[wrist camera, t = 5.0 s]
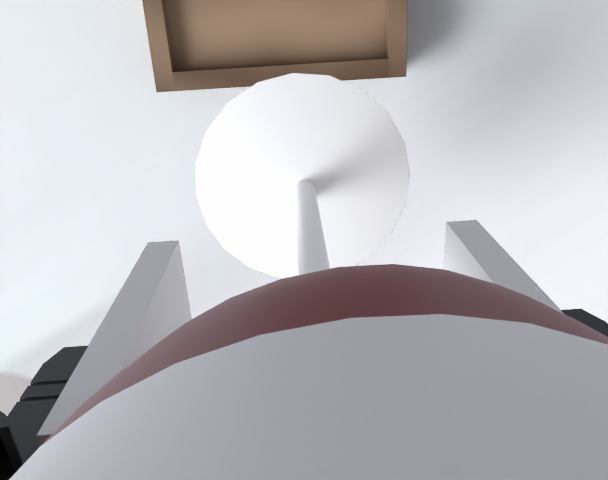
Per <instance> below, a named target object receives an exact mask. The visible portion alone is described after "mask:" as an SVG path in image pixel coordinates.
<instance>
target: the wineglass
mask: <svg viewBox="0 0 608 480" xmlns="http://www.w3.org/2000/svg"><path fill="white" fill-rule="evenodd" d="M409 178H410V171H409V165H408V159H407V154H406V148H405V142H404V140H403V138H402V137H401V135H400V133H399V131H398V129H397V128H396V126H395V124H394V122H393V120H392V119H391V117H390V115H389V113H388V112H387V111H386V110H385V109H384V108H383V107H381V106H380V105H379V104H378V103H377V102H376V101H375V100H374V99H372V98H371V97H370V96H369V95H368V94H367V93H366V92H365V91H363V90H362V89H360V88H358V87H356V86H353V85H351V84H348V83H346V82H344V81H341V80H339V79H336V78H334V77H332V76H329V75H316V74H301V73H291V74H287V75H283V76H279V77H276V78H272V79H268V80H264V81H261V82H257V83H256V84H254V85H253V86H251V87H250V88H248V89H247V90H245V91H244V92H242V93H241V94H239V95H238V96H236V97H235V98H233V99H232V100H230V101H229V102H227V104H226V105H225V106H224V108H223V109H222V110H221V112H220V113H219V114H218V116H217V117H216V118H215V119H214V121H213V122H212V123H211V125H210V126H209V127H208V129H207V130H206V133H205V136H204V139H203V142H202V145H201V148H200V151H199V154H198V157H197V160H196V196H197V199H198V202H199V205H200V207H201V210H202V213H203V216H204V219H205V222H206V225H207V226H208V228H209V229H210V230H211V232H212V233H213V234H214V235H215V237H216V238H217V239H218V241H219V242H220V243H221V245H222V246H223V247H224V249H225V250H226V251H227V252H229V253H230V254H232V255H233V256H235V257H236V258H237V259H239V260H240V261H242V262H243V263H244V264H246V265H247V266H249V267H250V268H251V269H254V270H257V271H260V272H263V273H266V274H269V275H272V276H275V277H278V278H282V279H280V280H278V281H275V282H272V283H270V284H267V285H264V286H261V287H259V288H256V289H253V290H251V291H248V292H245V293H243V294H240V295H237V296H234V297H232V298H230V299H228V300H226V301H224V302H223V303H221V304H219V305H217V306H215V307H214V308H212V309H210V310H208V311H206V312H205V313H203V314H201V315H199V316H197V317H196V318H194V319H192V320H190V321H188V322H187V323H185V324H183V325H182V326H180V327H179V328H178V329H176V330H175V331H174V332H172V333H171V334H169V335H168V336H167V337H165V338H164V339H163V340H161V341H160V342H158V343H157V344H156V345H155V346H153V347H152V348H151V349H149V350H148V351H147V352H146V353H144V354H143V355H142V356H140V357H139V358H138V359H136V360H135V361H134V362H133V363H131V364H130V365H129V366H127V367H126V368H125V369H124V370H122V371H121V372H120V373H118V374H117V375H116V376H114V377H113V378H112V379H111V380H110V381H109V382H108V383H106V384H105V385H104V386H103V387H102V388H101V389H99V390H98V391H97V392H96V393H95V394H94V395H93V396H91V397H90V398H89V399H88V400H87V401H86V402H85V403H83V404H82V405H81V406H80V407H79V408H78V409H77V410H76V411H75V412H74V413H73V414H72V415H71V416H70V417H69V418H68V419H67V420H66V421H65V422H64V423H63V424H62V425H61V426H60V427H59V428H58V429H57V430H56V431H55V432H54V433H53V434H52V435H51V436H50V437H49V438H48V439H47V440H46V441H45V442H44V443H43V444H42V445H41V446H40V447H39V448H38V449H37V450H36V451H35V453H34V454H33V455H32V456H31V457H30V458H29V459H28V460H27V461H26V462H25V463H24V464H23V465H22V466H21V467H20V469H19V470H18V471H17V472H16V473H15V474H14V475H13V476H12V477H11V478H10V479H9V480H608V337H607V336H605V335H603V334H601V333H600V332H598V331H596V330H594V329H592V328H590V327H589V326H587V325H585V324H583V323H581V322H579V321H577V320H575V319H573V318H571V317H569V316H567V315H565V314H563V313H561V312H559V311H557V310H555V309H553V308H551V307H549V306H547V305H545V304H543V303H541V302H539V301H537V300H535V299H533V298H531V297H529V296H526V295H524V294H521V293H518V292H516V291H513V290H511V289H508V288H505V287H503V286H500V285H498V284H495V283H491V282H488V281H484V280H480V279H477V278H473V277H470V276H466V275H463V274H459V273H456V272H452V271H449V270H442V269H433V268H424V267H415V266H405V265H396V264H388V265H369V266H355V265H356V264H358V263H360V262H362V261H363V260H365V259H367V258H368V257H370V256H371V255H372V254H373V253H374V252H375V251H376V250H377V249H378V248H379V246H380V245H381V244H382V243H383V242H384V241H385V240H386V239H387V238H388V237H389V236H390V235H391V234H392V232H393V230H394V228H395V226H396V224H397V222H398V220H399V218H400V216H401V214H402V212H403V210H404V208H405V205H406V198H407V192H408V185H409Z"/></svg>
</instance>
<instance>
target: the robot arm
mask: <svg viewBox="0 0 608 480" xmlns="http://www.w3.org/2000/svg"><path fill="white" fill-rule="evenodd" d="M444 270H449V271H452V272H456V273H459V274H463V275H466V276H470V277H473V278H477V279H480V280H484V281H488V282H491V283H495V284H498V285H500V286H503V287H505V288H508V289H511V290H513V291H516V292H518V293H521V294H524V295H526V296H529V297H531V298H533V299H535V300H537V301H539V302H541V303H543V304H545V305H547V306H549V307H551V308H553V309H555V310H557V311H559V312H561V313H563V314H565V315H567V316H569V317H571V318H573V319H575V320H577V321H579V322H581V323H583V324H585V325H587V326H589V327H590V328H592V329H594V330H596V331H598V332H600V333H601V334H603V335H605V336H607V337H608V324H607V323H606V322H605V321H603V320H601V319H599V318H597V317H595V316H594V315H592V314H590V313H588V312H586V311H584V310H582V309H571V310H560V309H559V308H558V307H557V306H556V305H555V303H554V302H553V301H552V300H551V299H550V298H549V297H548V296H547V295H546V294H545V293H544V292H543V291H542V290H541V289H540V287H539V286H538V285H537V284H536V283H535V282H534V281H533V280H532V279H531V278H530V277H529V276H528V275H527V274H526V273H525V272H524V270H523V269H522V268H521V267H520V266H519V265H518V264H517V263H516V262H515V261H514V260H513V259H512V258H511V257H510V256H509V254H508V253H507V252H506V251H505V250H504V249H503V248H502V247H501V246H500V245H499V244H498V243H497V242H496V241H495V240H494V238H493V237H492V236H491V235H490V234H489V233H488V232H487V231H486V230H485V229H484V228H483V227H482V226H481V225H480V224H479V223H478V221H477V220H470V221H455V222H446V235H445V255H444ZM190 320H192V319H191V313H190V307H189V300H188V294H187V288H186V282H185V276H184V270H183V264H182V258H181V252H180V246H179V241H165V242H151V243H148V244H147V246H146V247H145V249H144V251H143V252H142V254H141V256H140V258H139V259H138V261H137V263H136V265H135V266H134V268H133V270H132V271H131V273H130V275H129V277H128V278H127V280H126V282H125V284H124V285H123V287H122V289H121V290H120V292H119V294H118V296H117V297H116V299H115V301H114V303H113V304H112V306H111V308H110V309H109V311H108V313H107V315H106V316H105V318H104V320H103V321H102V323H101V325H100V327H99V328H98V330H97V332H96V334H95V335H94V337H93V339H92V340H91V342H90V344H89V346H78V347H64V348H63V349H62V350H60V351H59V352H58V353H56V354H55V355H54V356H53V357H51V358H50V359H49V360H48V361H46V362H45V363H44V364H43V365H42V366H41V368H40V369H39V371H38V372H37V374H36V375H35V377H34V378H33V380H32V381H31V386H28V387H27V389H26V390H25V392H24V393H23V394H22V396H21V398H20V402H17V403H16V405H15V406H14V408H13V409H12V411H11V412H10V413H9V415H8V416H6V415H5V414H4V413H2V412H1V411H0V480H9V479H10V478H11V477H12V476H13V475H14V474H15V473H16V472H17V471H18V470H19V469H20V467H21V466H22V465H23V464H24V463H25V462H26V461H27V460H28V459H29V458H30V457H31V456H32V455H33V454H34V453H35V451H36V450H37V449H38V448H39V447H40V446H41V445H42V444H43V443H44V442H45V441H46V440H47V439H48V438H49V437H50V436H51V435H52V434H53V433H54V432H55V431H56V430H57V429H58V428H59V427H60V426H61V425H62V424H63V423H64V422H65V421H66V420H67V419H68V418H69V417H70V416H71V415H72V414H73V413H74V412H75V411H76V410H77V409H78V408H79V407H80V406H81V405H82V404H83V403H85V402H86V401H87V400H88V399H89V398H90V397H91V396H93V395H94V394H95V393H96V392H97V391H98V390H99V389H101V388H102V387H103V386H104V385H105V384H106V383H108V382H109V381H110V380H111V379H112V378H113V377H114V376H116V375H117V374H118V373H120V372H121V371H122V370H124V369H125V368H126V367H127V366H129V365H130V364H131V363H133V362H134V361H135V360H136V359H138V358H139V357H140V356H142V355H143V354H144V353H146V352H147V351H148V350H149V349H151V348H152V347H153V346H155V345H156V344H157V343H158V342H160V341H161V340H163V339H164V338H165V337H167V336H168V335H169V334H171V333H172V332H174V331H175V330H176V329H178V328H179V327H180V326H182V325H183V324H185V323H187V322H188V321H190Z"/></svg>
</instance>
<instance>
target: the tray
mask: <svg viewBox="0 0 608 480" xmlns="http://www.w3.org/2000/svg"><path fill="white" fill-rule="evenodd" d="M142 1H143V7H144V14H145V20H146V27H147V33H148V39H149V46H150V52H151V59H152V65H153V72H154V78H155V84H156V91H157V92H167V91H183V90H199V89H215V88H230V87H246V86H253V85H254V84H256V83H257V82H261V81H264V80H268V79H272V78H276V77H279V76H283V75H287V74H291V73H301V74H316V75H329V76H332V77H334V78H336V79H339V80H357V79H373V78H389V77H405V76H406V60H407V0H142Z"/></svg>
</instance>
